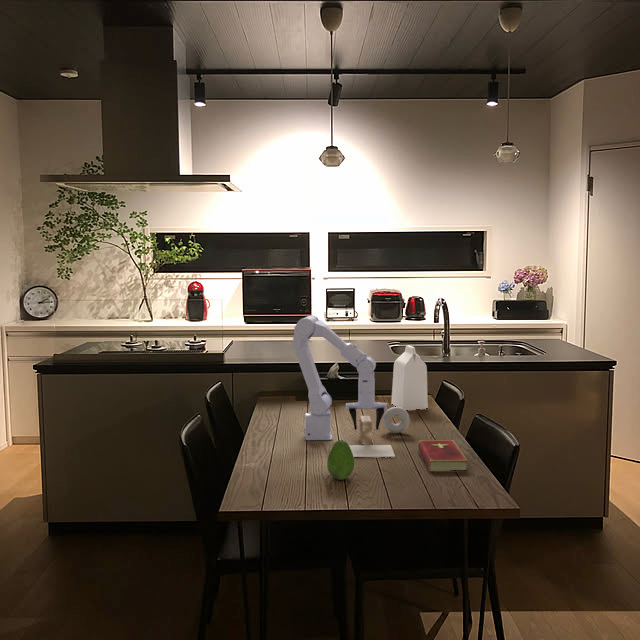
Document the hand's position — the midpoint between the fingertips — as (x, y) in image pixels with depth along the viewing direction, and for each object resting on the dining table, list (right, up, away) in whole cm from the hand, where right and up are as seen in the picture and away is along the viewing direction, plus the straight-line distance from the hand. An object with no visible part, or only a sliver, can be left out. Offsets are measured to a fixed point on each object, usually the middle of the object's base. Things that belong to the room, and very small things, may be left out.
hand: (366, 428), depth 239 cm
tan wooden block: (0, -4, +1) cm, 4 cm away
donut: (+12, -3, +10) cm, 16 cm away
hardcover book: (+23, -8, -20) cm, 32 cm away
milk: (+22, +1, +49) cm, 54 cm away
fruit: (-10, -9, -37) cm, 39 cm away
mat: (0, -6, -12) cm, 13 cm away
